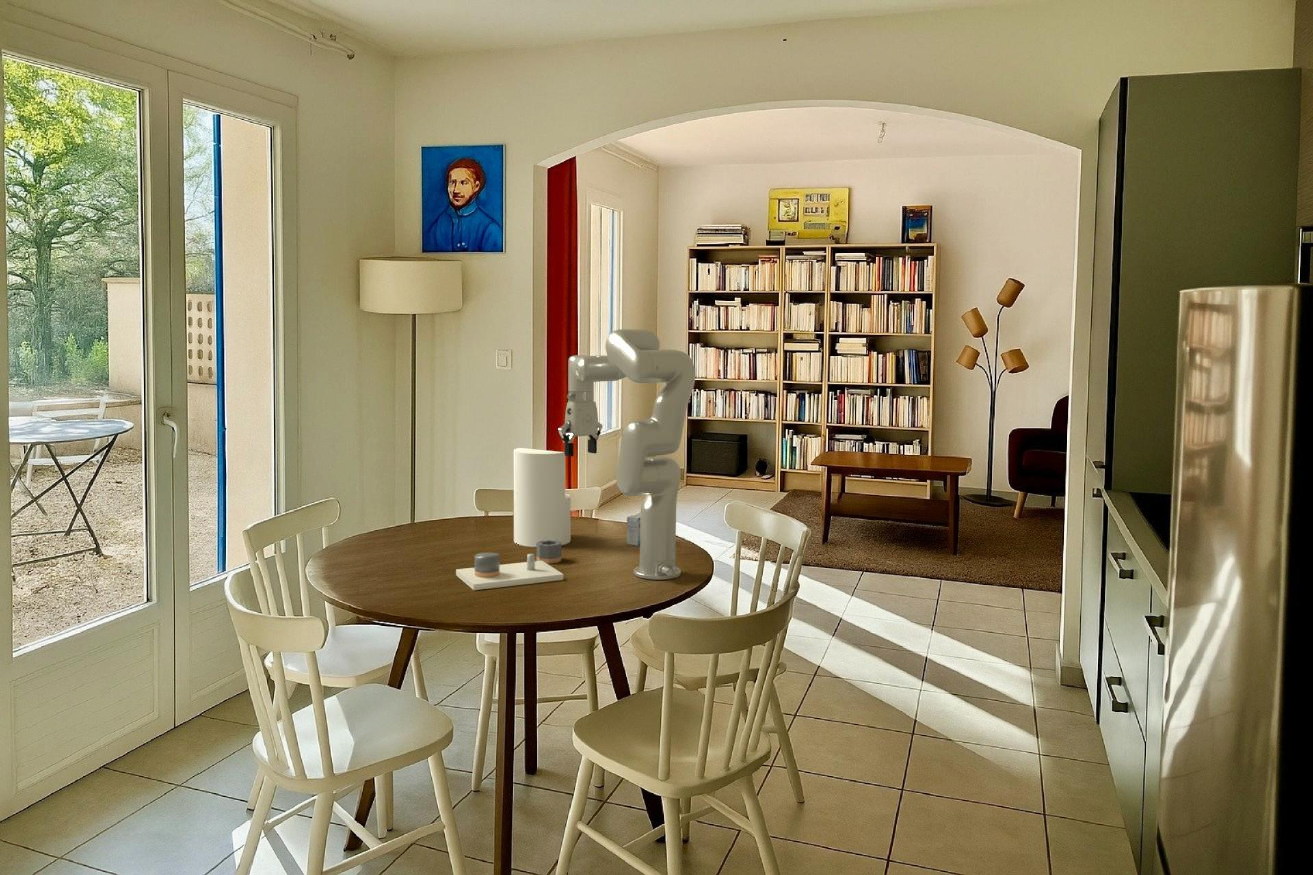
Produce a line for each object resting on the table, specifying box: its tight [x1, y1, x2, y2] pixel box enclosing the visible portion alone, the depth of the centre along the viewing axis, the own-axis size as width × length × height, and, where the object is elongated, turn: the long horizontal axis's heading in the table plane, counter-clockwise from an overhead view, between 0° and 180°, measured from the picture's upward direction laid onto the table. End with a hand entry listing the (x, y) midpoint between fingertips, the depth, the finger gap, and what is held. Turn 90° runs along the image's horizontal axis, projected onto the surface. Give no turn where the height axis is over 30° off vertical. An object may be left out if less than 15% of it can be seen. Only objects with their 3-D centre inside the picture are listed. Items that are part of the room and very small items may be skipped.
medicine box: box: [626, 513, 640, 547], centre depth 299 cm, size 8×4×9 cm, turn 143°
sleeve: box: [535, 540, 562, 564], centre depth 276 cm, size 6×6×5 cm
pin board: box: [455, 552, 564, 591], centre depth 258 cm, size 16×24×6 cm, turn 117°
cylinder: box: [513, 447, 572, 548], centre depth 299 cm, size 17×17×28 cm
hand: (580, 454), depth 293 cm, fingers open, 9 cm apart
